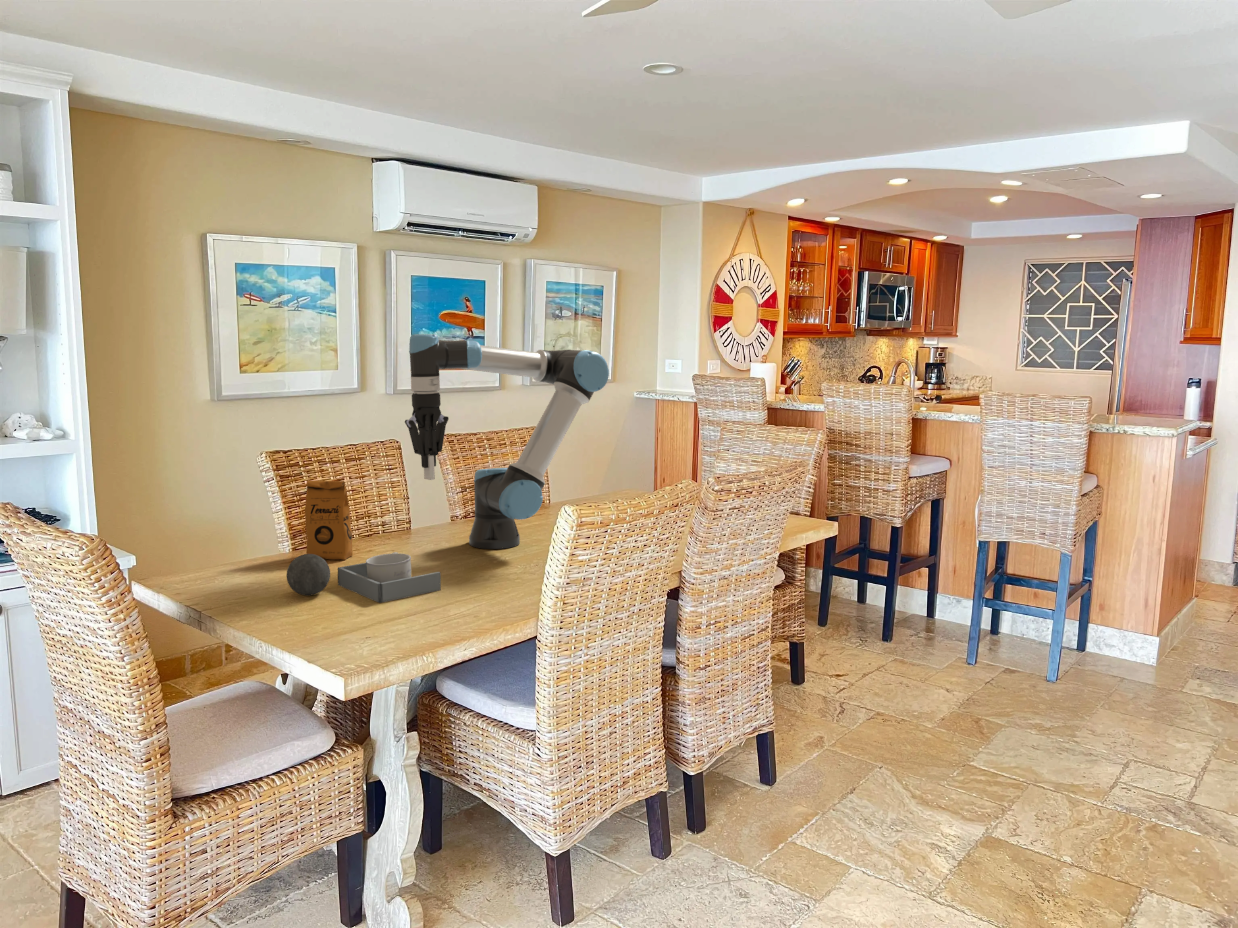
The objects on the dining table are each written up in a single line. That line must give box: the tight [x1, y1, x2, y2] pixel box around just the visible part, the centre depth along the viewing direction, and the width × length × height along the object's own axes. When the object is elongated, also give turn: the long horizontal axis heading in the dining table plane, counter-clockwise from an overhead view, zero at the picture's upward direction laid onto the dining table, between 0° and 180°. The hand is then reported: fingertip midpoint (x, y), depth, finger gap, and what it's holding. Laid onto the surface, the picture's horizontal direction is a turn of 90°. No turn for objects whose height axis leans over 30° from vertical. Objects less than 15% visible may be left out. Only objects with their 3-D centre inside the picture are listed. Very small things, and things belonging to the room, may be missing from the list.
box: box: [337, 562, 442, 604], centre depth 232 cm, size 17×21×4 cm
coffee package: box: [304, 479, 354, 561], centre depth 260 cm, size 10×12×22 cm
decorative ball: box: [286, 553, 331, 597], centre depth 224 cm, size 10×10×10 cm
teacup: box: [365, 551, 412, 583], centre depth 232 cm, size 14×11×8 cm
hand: (429, 479), depth 253 cm, fingers closed
